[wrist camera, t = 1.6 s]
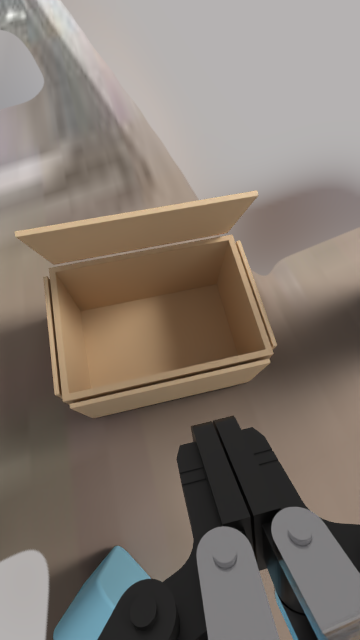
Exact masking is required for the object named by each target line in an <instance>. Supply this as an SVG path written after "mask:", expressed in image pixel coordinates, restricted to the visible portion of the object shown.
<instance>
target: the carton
mask: <svg viewBox="0 0 360 640" xmlns="http://www.w3.org/2000/svg"><path fill="white" fill-rule="evenodd" d="M49 274H50V279H49V278H48V277H47V276H46V277H43V278H44V289H45V299H46V309H47V320H48V330H49V341H50V351H51V361H52V372H53V382H54V393H55V395H56V396H58V397H60V398H62V399H63V402H64V403H67V404H69V405H70V409H72V410H74V411H77V412H79V413H82V414H84V415H86V416H89V417H91V418H97V417H101V416H106V415H110V414H114V413H118V412H123V411H127V410H131V409H136V408H140V407H144V406H148V405H153V404H157V403H161V402H165V401H170V400H174V399H178V398H182V397H187V396H191V395H195V394H200V393H204V392H208V391H212V390H217V389H221V388H225V387H229V386H234V385H238V384H242V383H246V382H249V381H250V380H251V379H253V378H254V377H255V376H256V375H257V374H258V373H259V372H261V371H262V370H263V369H264V368H265V367H266V366H267V365H268V364H270V363H271V362H270V359H269V358H270V357H271V356H272V355H273V354H274V353H273V349H274V348H275V347H276V346H277V343H276V340H275V337H274V335H273V332H272V329H271V326H270V323H269V320H268V318H267V315H266V312H265V309H264V306H263V304H262V301H261V298H260V295H259V292H258V289H257V287H256V284H255V281H254V278H253V275H252V273H251V270H250V267H249V264H248V262H247V258H246V256H245V253H244V250H243V248H242V245H241V242H240V241H237V242H236V244H235V241H234V238H233V235H228V236H222V237H217V238H211V239H206V240H200V241H195V242H189V243H184V244H178V245H173V246H167V247H162V248H157V249H151V250H146V251H140V252H135V253H129V254H124V255H118V256H113V257H107V258H102V259H97V260H91V261H86V262H80V263H75V264H69V265H64V266H58V267H53V268H49Z"/></svg>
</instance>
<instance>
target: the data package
mask: <svg viewBox="0 0 360 640" xmlns="http://www.w3.org/2000/svg"><path fill="white" fill-rule="evenodd" d="M144 579H151V578H150V577H149V576H148V575H147V573H146V572H145V571H144V570H143V569H142V568H141V567H140V566H139V564H138V563H137V562H136V561H135V560H134V559H133V558H132V557H131V556H130V554H129V553H128V552H127V551H126V550H125V549H123V548H122V547H120V546H115V547H114V548H113V549H112V550H111V551H110V553H109V554H108V555H107V556H106V557H105V559H104V560H103V561H102V562H101V564H100V565H99V566H98V567H97V568H96V570H95V571H94V572H93V573H92V574H91V576H90V577H89V578H88V579H87V581H86V582H85V583H84V584H83V586H82V587H81V589H80V591H79V592H78V594H77V595H76V597H75V598H74V600H73V601H72V603H71V604H70V606H69V607H68V609H67V610H66V612H65V614H64V615H63V617H62V618H61V620H60V621H59V623H58V624H57V626H56V627H55V630H54V633H53V640H97V639H98V637H99V636H100V634H101V632H102V630H103V628H104V627H105V625H106V623H107V621H108V619H109V618H110V616H111V614H112V612H113V610H114V608H115V607H116V605H117V603H118V601H119V599H120V598H121V596H122V595H123V593H124V592H125V591H126V590H127V589H128V588H129V587H130V586H131V585H133V584H134V583H136V582H138V581H140V580H144Z"/></svg>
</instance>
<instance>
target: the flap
mask: <svg viewBox="0 0 360 640" xmlns="http://www.w3.org/2000/svg"><path fill="white" fill-rule="evenodd" d="M257 196H258V191H252V192H246V193H239V194H234V195H228V196H222V197H216V198H210V199H204V200H198V201H192V202H186V203H181V204H175V205H169V206H163V207H157V208H151V209H145V210H139V211H133V212H127V213H122V214H116V215H110V216H104V217H98V218H92V219H86V220H80V221H74V222H69V223H63V224H57V225H51V226H45V227H39V228H33V229H27V230H21V231H16V232H15V235H16V237H17V238H18V239H19V240H21V241H22V242H23V243H25V244H26V245H28V246H29V247H30V248H32V249H33V250H34V251H36V252H37V253H39V254H40V255H41V256H43V257H44V258H45V259H47V260H48V261H50V262H51V263H52V264H60V263H65V262H71V261H76V260H82V259H87V258H93V257H98V256H104V255H109V254H115V253H120V252H126V251H131V250H137V249H142V248H148V247H153V246H159V245H164V244H170V243H175V242H181V241H186V240H192V239H197V238H203V237H208V236H213V235H219V234H224V233H228V231H229V230H230V229H231V228H232V227H233V225H234V224H235V223H236V222H237V221H238V219H239V218H240V217H241V216H242V215H243V213H244V212H245V211H246V210H247V209H248V207H249V206H250V205H251V204H252V202H253V201H254V200H255V199H256V198H257Z"/></svg>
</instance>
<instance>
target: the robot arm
mask: <svg viewBox="0 0 360 640" xmlns="http://www.w3.org/2000/svg"><path fill="white" fill-rule="evenodd" d="M191 431H192V437H193V442H192V443H188V444H184V445H180V448H179V452H178V456H177V463H178V468H179V473H180V478H181V483H182V488H183V493H184V497H185V502H186V506H187V511H188V515H189V520H190V524H191V529H192V533H193V538H194V543H193V549H192V552H191V554H190V557H189V559H188V560H187V562H186V563H185V564H184V565H183V567H182V568H181V569H179V570H178V571H177V572H176V573H174V574H173V575H172V576H170V577H169V578H168V579H166V580H165V581H164V582H161V581H158V580H155V579H144V580H140V581H138V582H136V583H134V584H133V585H131V586H130V587H129V588H128V589H127V590H126V591H125V592H124V593H123V595H122V596H121V598H120V599H119V601H118V603H117V605H116V607H115V608H114V610H113V612H112V614H111V616H110V618H109V619H108V621H107V623H106V625H105V627H104V628H103V630H102V632H101V634H100V636H99V637H98V639H97V640H280V639H279V636H278V633H277V629H276V626H275V623H274V619H273V616H272V613H271V609H270V606H269V603H268V599H267V596H266V593H265V589H264V586H263V583H262V579H261V576H260V573H259V571H260V570H263V569H266V568H267V569H268V571H269V574H270V576H271V579H272V581H273V584H274V594H275V599H276V601H277V604H278V606H279V609H280V611H281V613H282V615H283V617H284V620H285V622H286V624H287V626H288V628H289V631H290V633H291V635H292V637H293V639H294V640H360V525H356V524H340V523H333V522H329V521H327V520H324V519H322V518H320V517H318V516H317V515H316V514H315V513H313V512H311V511H310V510H309V509H308V508H307V507H306V506H305V504H304V503H303V501H302V500H301V498H300V496H299V495H298V493H297V491H296V489H295V488H294V486H293V484H292V483H291V481H290V479H289V478H288V476H287V474H286V472H285V471H284V469H283V467H282V466H281V464H280V462H278V459H277V457H276V455H275V454H274V452H273V451H272V448H271V447H270V445H269V443H268V442H267V440H266V438H265V437H264V436H263V435H262V434H261V433H259V432H258V431H257V430H255V429H254V428H253V427H252V428H248V429H244V430H241V428H240V426H239V424H238V422H237V420H236V419H235V417H234V416H230V417H226V418H222V419H218V420H214V421H213V423H212V422H211V421H210V422H206V423H202V424H198V425H194V426H191Z"/></svg>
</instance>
